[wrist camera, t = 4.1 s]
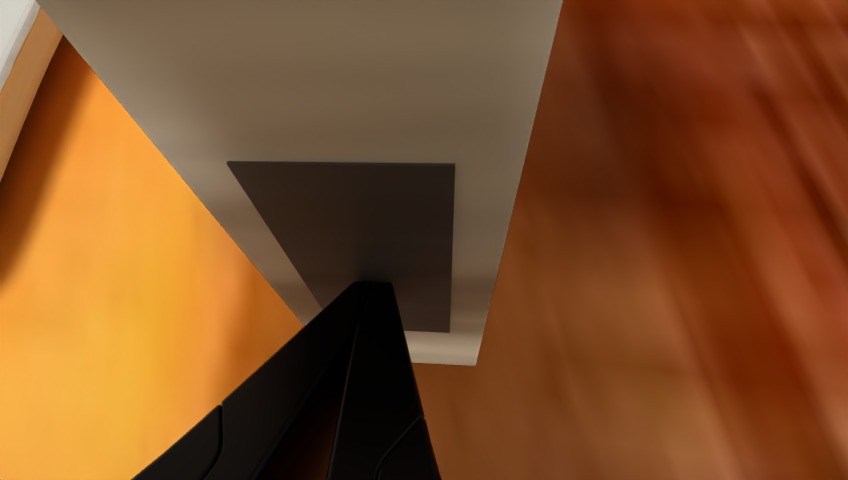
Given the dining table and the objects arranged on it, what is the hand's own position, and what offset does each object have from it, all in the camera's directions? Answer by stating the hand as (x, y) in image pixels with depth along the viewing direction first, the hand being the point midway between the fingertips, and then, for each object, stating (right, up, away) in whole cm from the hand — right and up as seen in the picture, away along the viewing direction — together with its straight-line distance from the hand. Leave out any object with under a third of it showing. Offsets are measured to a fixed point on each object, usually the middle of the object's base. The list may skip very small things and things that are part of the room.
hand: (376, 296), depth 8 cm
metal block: (0, -1, +6) cm, 6 cm away
